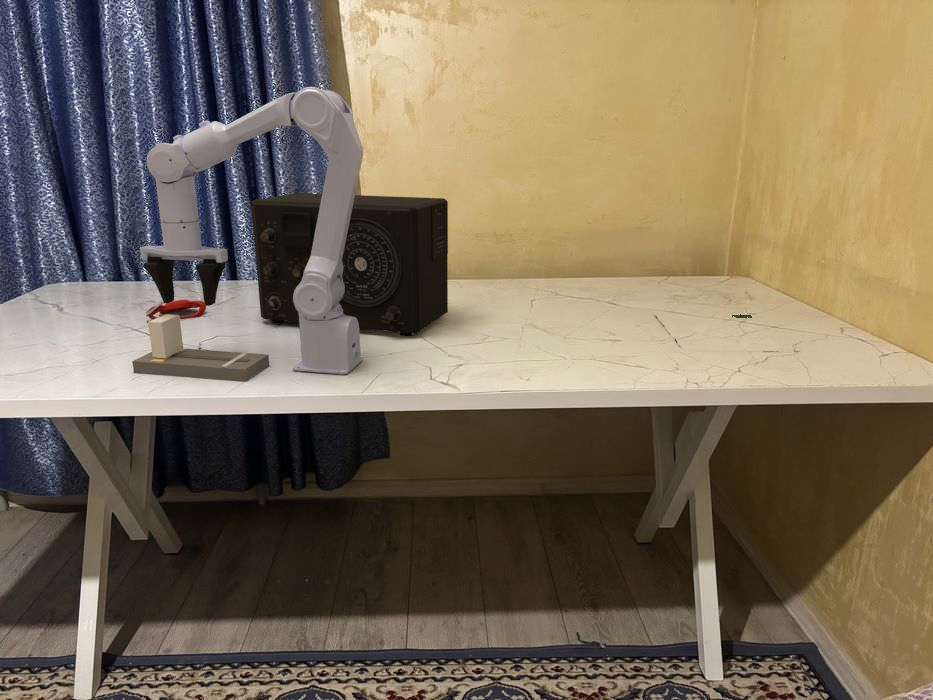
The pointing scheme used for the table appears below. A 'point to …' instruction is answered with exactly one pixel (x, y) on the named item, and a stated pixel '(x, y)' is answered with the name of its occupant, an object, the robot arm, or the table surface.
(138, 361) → the fader console
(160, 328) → the fader tab
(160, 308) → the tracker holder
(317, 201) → the vintage radio
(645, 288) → the table surface
